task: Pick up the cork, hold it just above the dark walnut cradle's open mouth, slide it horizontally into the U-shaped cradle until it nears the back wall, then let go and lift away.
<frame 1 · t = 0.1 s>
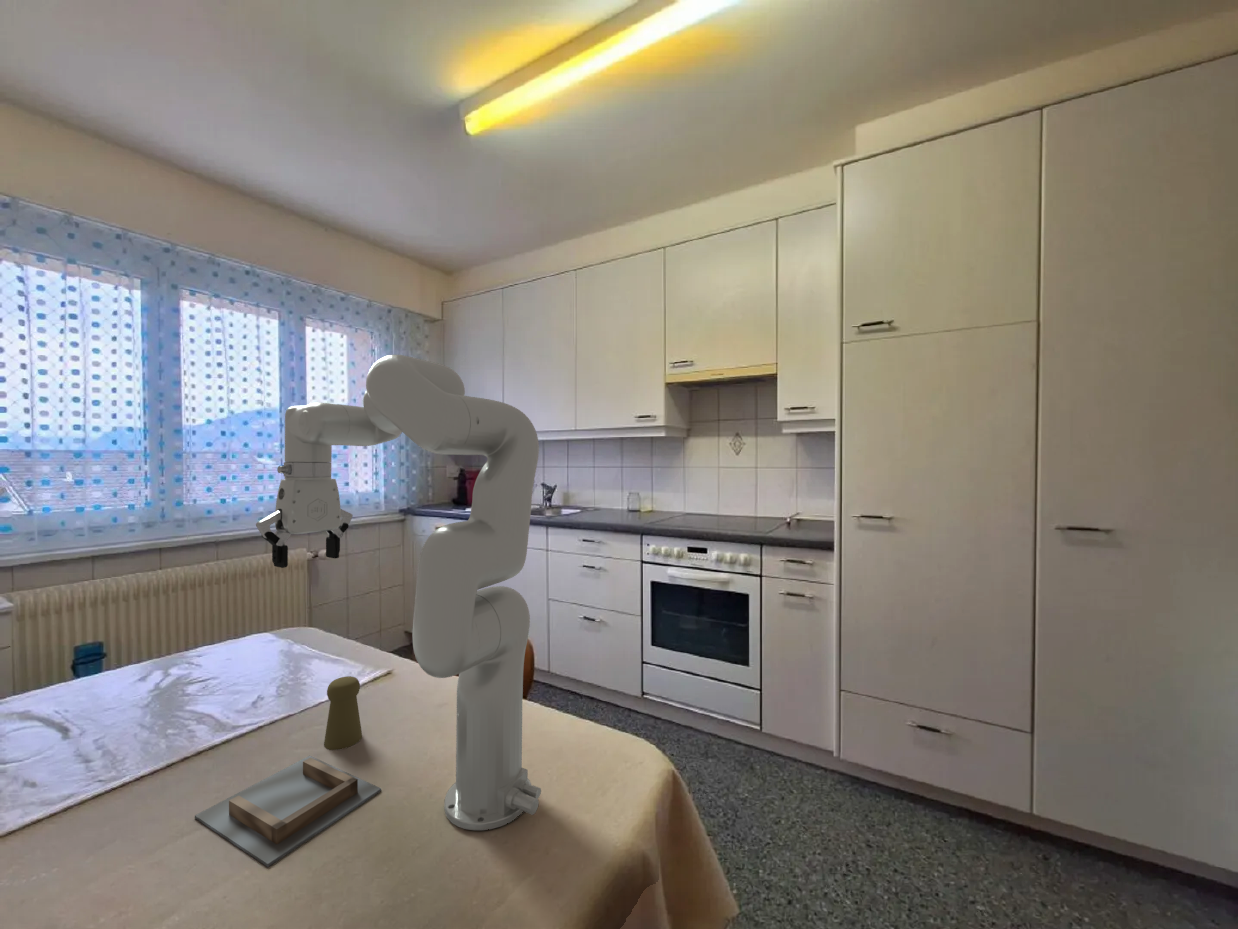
hand: (307, 562, 94), 31 cm above the table, tool pointing down, fingers open, 9 cm apart
cork: (343, 741, 89), on the table
cradle: (296, 806, 72), on the table
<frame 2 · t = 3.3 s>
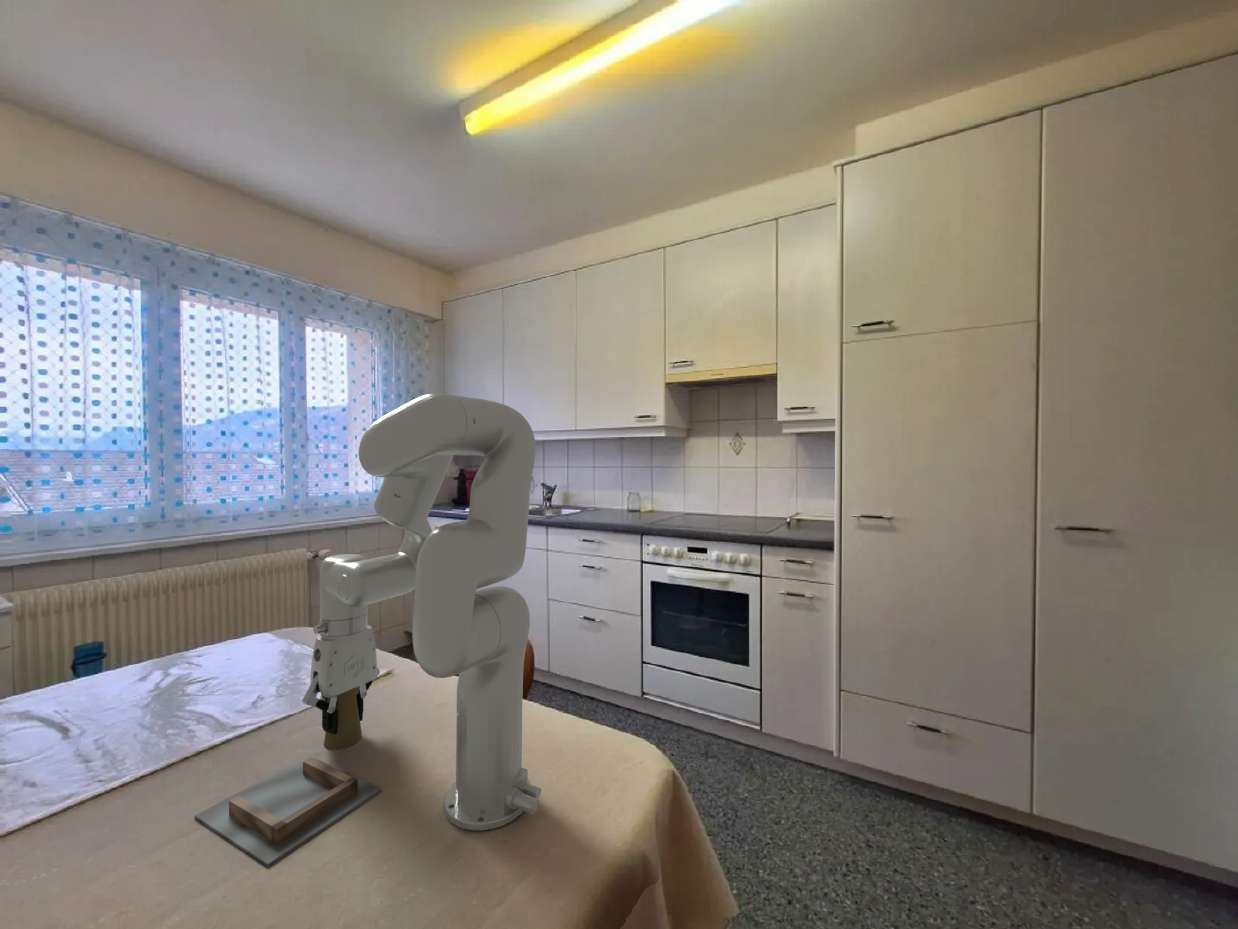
hand: (343, 724, 89), 3 cm above the table, tool pointing down, fingers closed on cork, 4 cm apart
cork: (343, 741, 89), on the table, touching gripper
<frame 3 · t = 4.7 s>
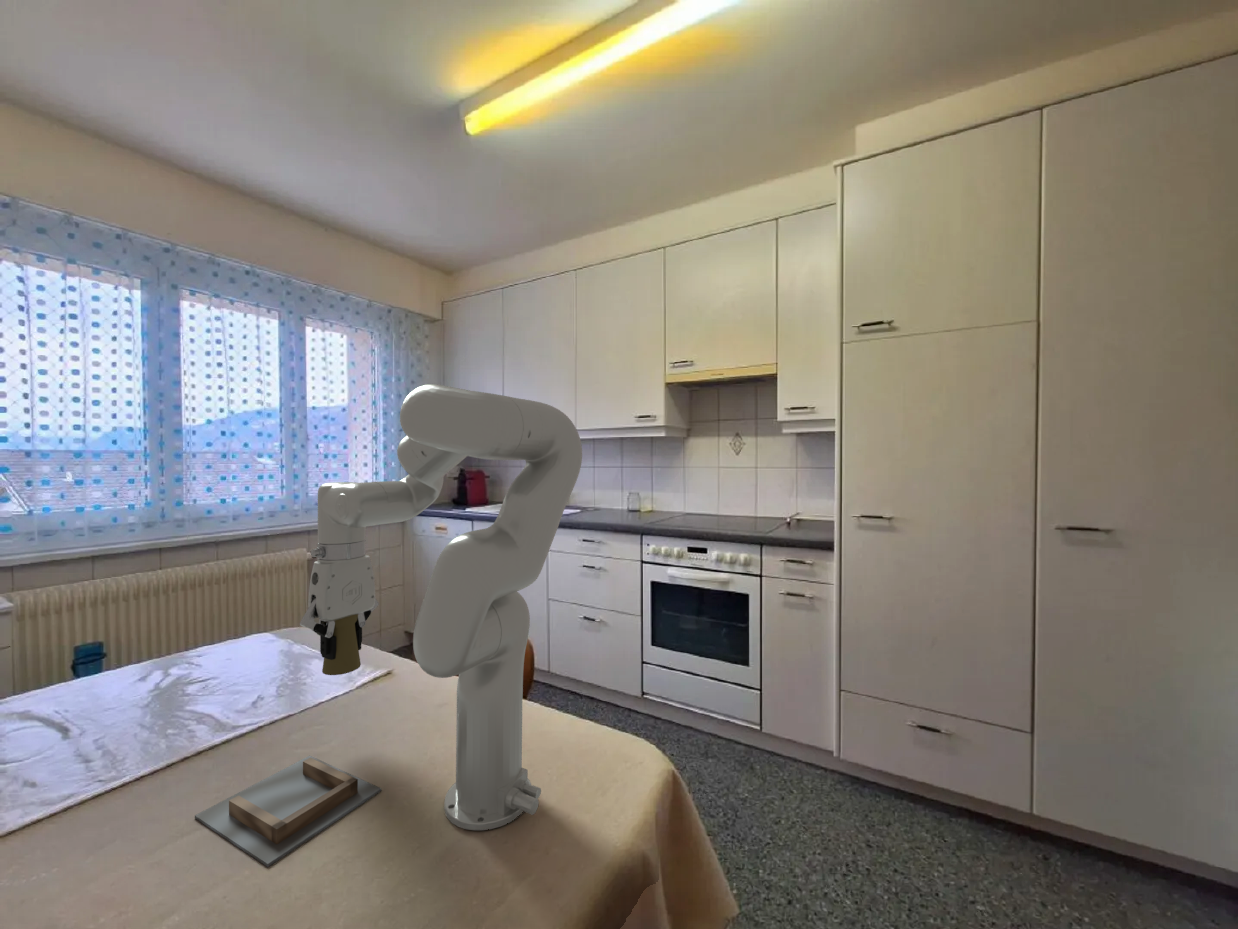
hand: (341, 652, 89), 16 cm above the table, tool pointing down, fingers closed on cork, 4 cm apart
cork: (341, 669, 89), point 13 cm above the table, touching gripper
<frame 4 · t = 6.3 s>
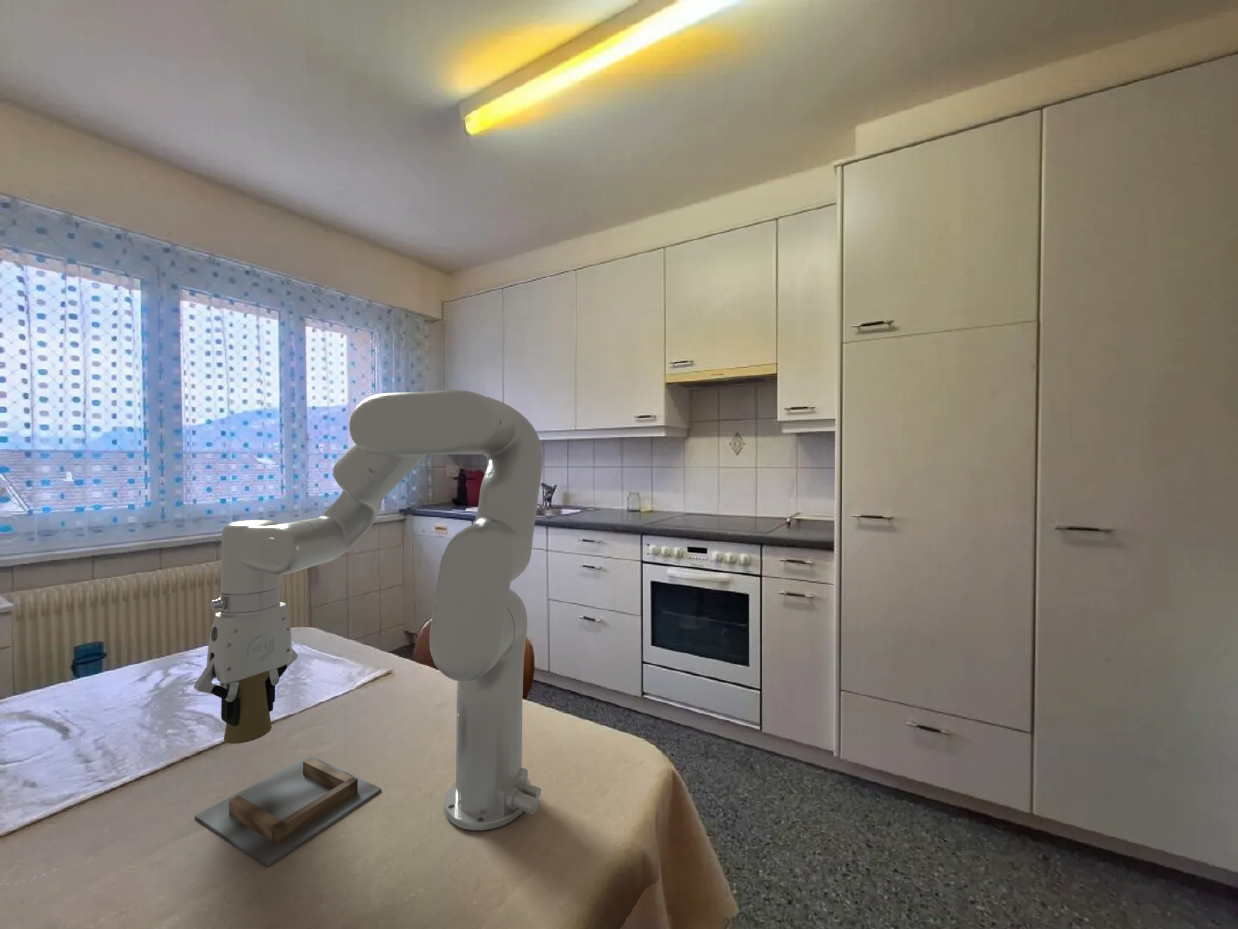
hand: (248, 715, 77), 10 cm above the table, tool pointing down, fingers closed on cork, 4 cm apart
cork: (248, 734, 78), point 7 cm above the table, touching gripper
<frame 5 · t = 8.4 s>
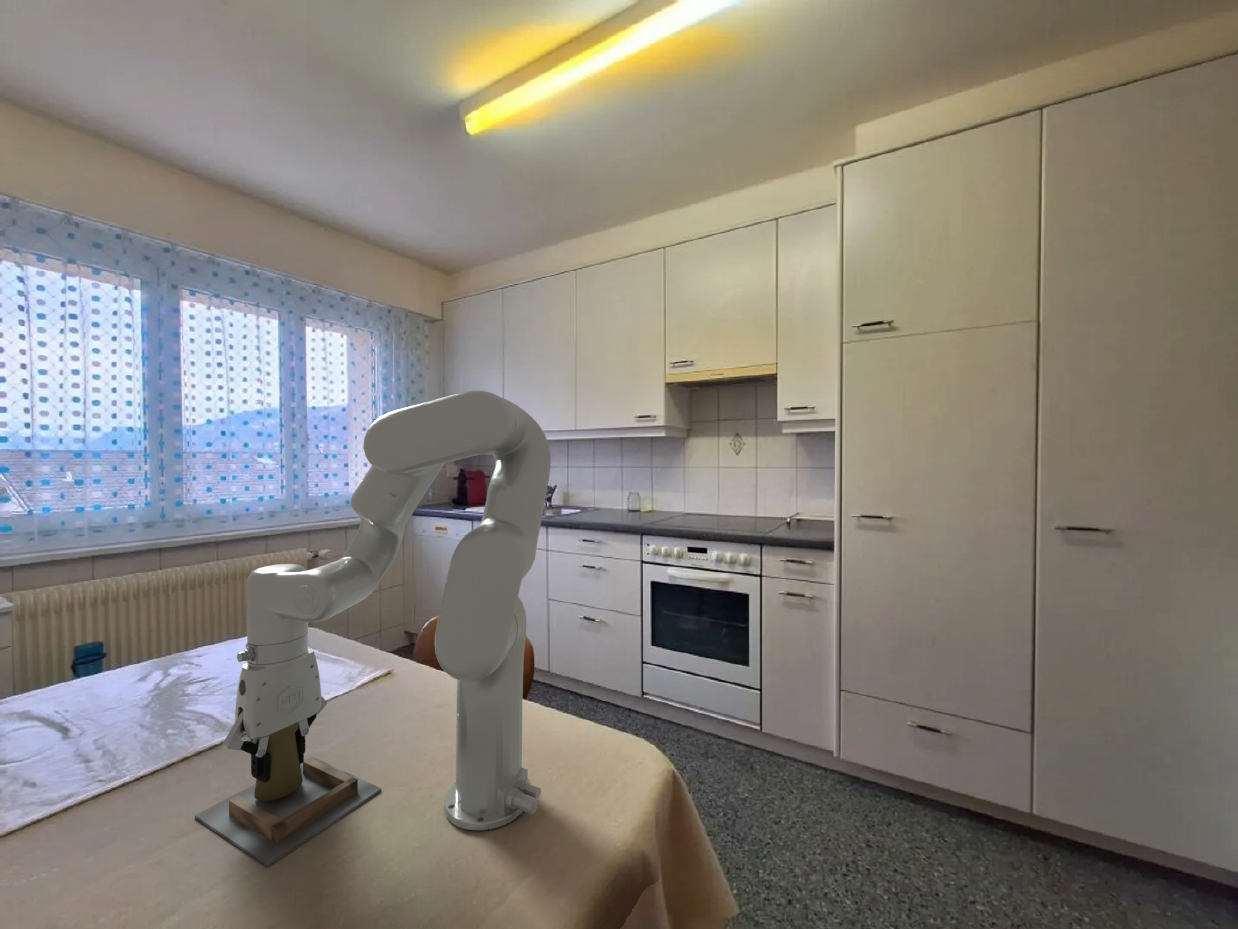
hand: (279, 768, 74), 4 cm above the table, tool pointing down, fingers closed on cork, 4 cm apart
cork: (278, 788, 74), point 1 cm above the table, touching gripper
when the fingers open (4 cm above the table, at t = 9.7 s): cork drops 1 cm, resting on cradle.
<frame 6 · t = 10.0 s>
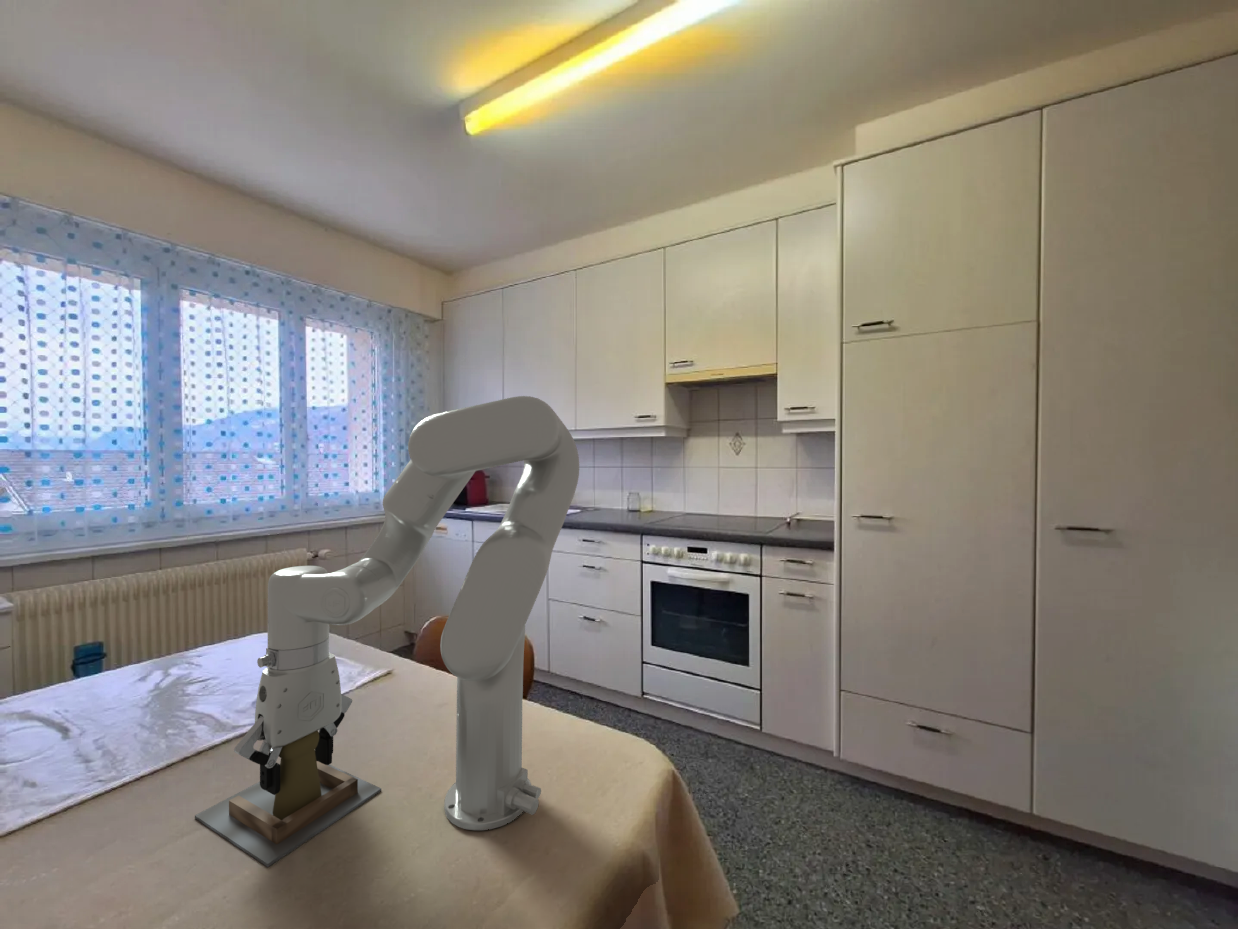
hand: (298, 774, 72), 5 cm above the table, tool pointing down, fingers open, 6 cm apart
cork: (297, 806, 72), resting on cradle
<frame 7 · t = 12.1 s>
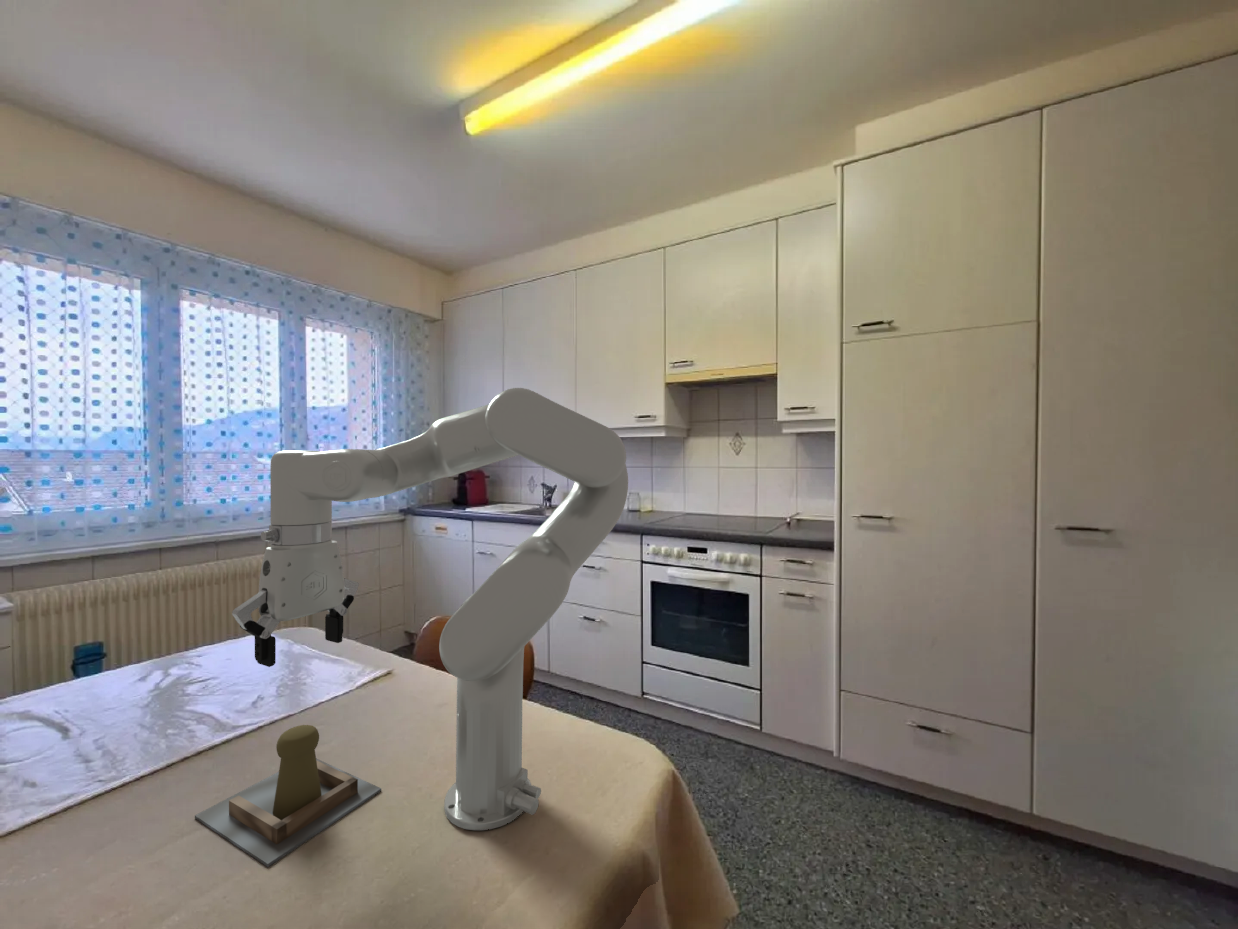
hand: (302, 652, 72), 22 cm above the table, tool pointing down, fingers open, 9 cm apart
nothing on the table moved.
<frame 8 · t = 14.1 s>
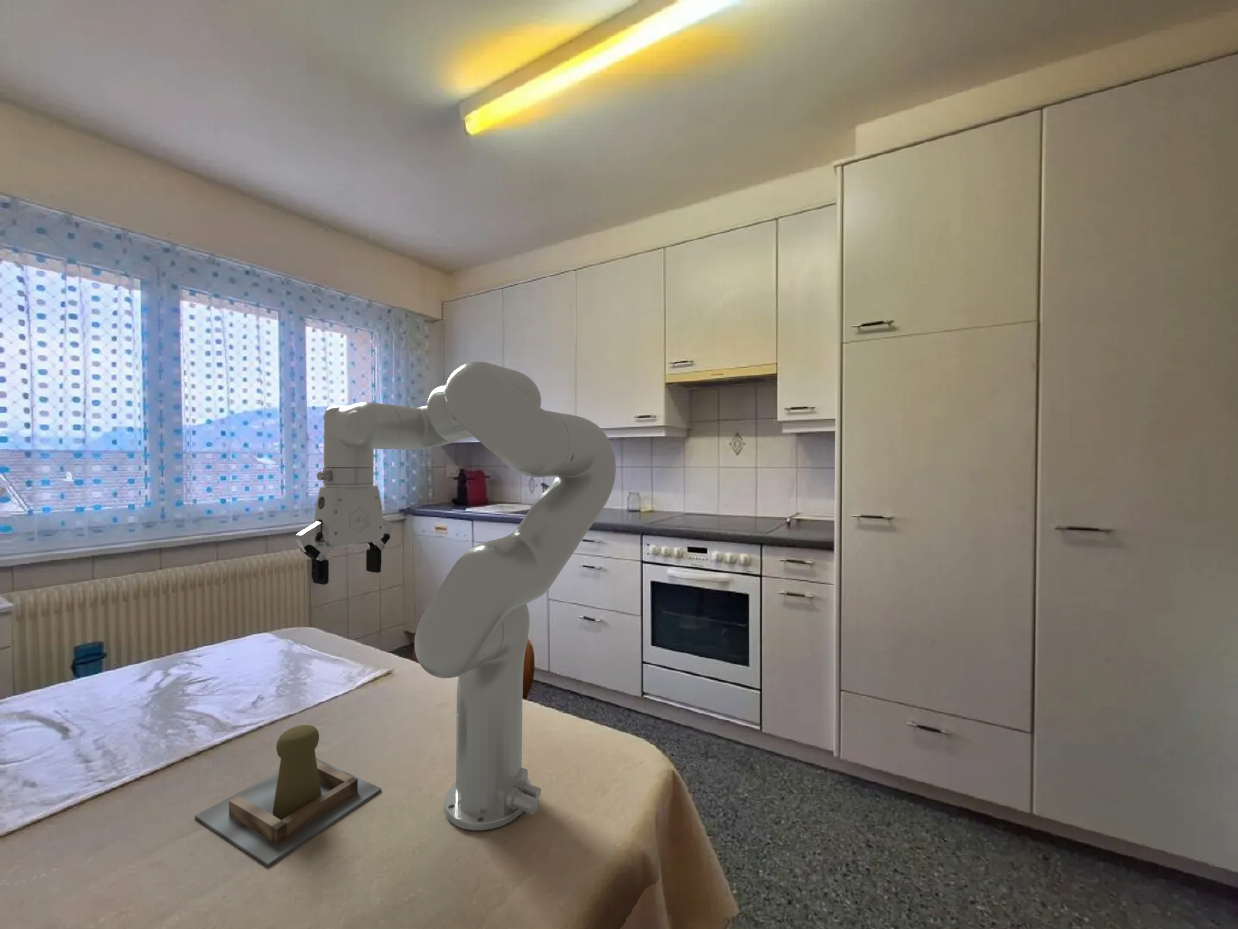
hand: (348, 577, 85), 30 cm above the table, tool pointing down, fingers open, 9 cm apart
nothing on the table moved.
at the end: cork 0.4 cm from the target spot on the cradle, point 0.2 cm above the cradle's base; cork tilted 0°; the gripper is holding nothing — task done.
